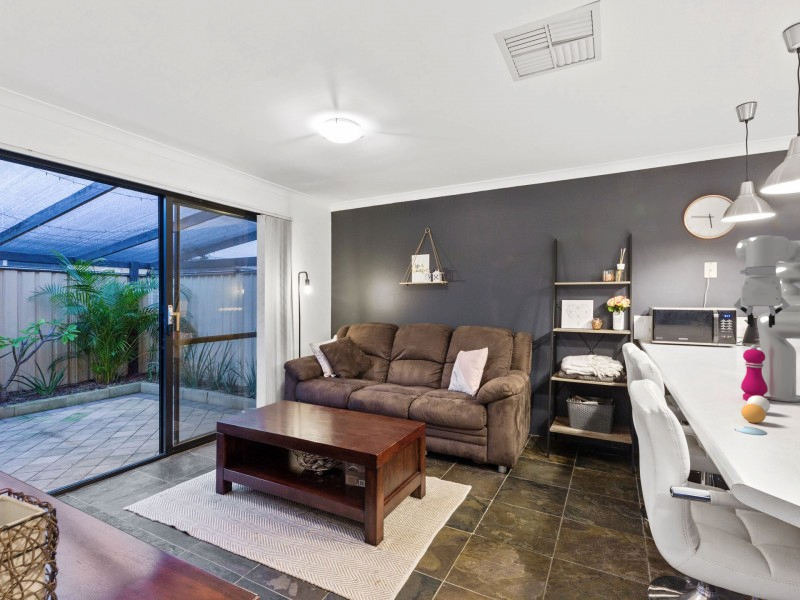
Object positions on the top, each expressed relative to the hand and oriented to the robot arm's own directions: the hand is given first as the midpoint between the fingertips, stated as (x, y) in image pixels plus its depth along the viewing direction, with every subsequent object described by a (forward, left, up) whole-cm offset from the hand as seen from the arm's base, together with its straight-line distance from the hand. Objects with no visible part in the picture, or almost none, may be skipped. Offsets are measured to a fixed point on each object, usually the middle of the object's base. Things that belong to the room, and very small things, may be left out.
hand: (761, 326), depth 135 cm
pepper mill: (-9, -5, -28) cm, 29 cm away
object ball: (+23, +5, -25) cm, 34 cm away
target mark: (+32, +7, -27) cm, 43 cm away
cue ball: (+9, +2, -25) cm, 26 cm away
